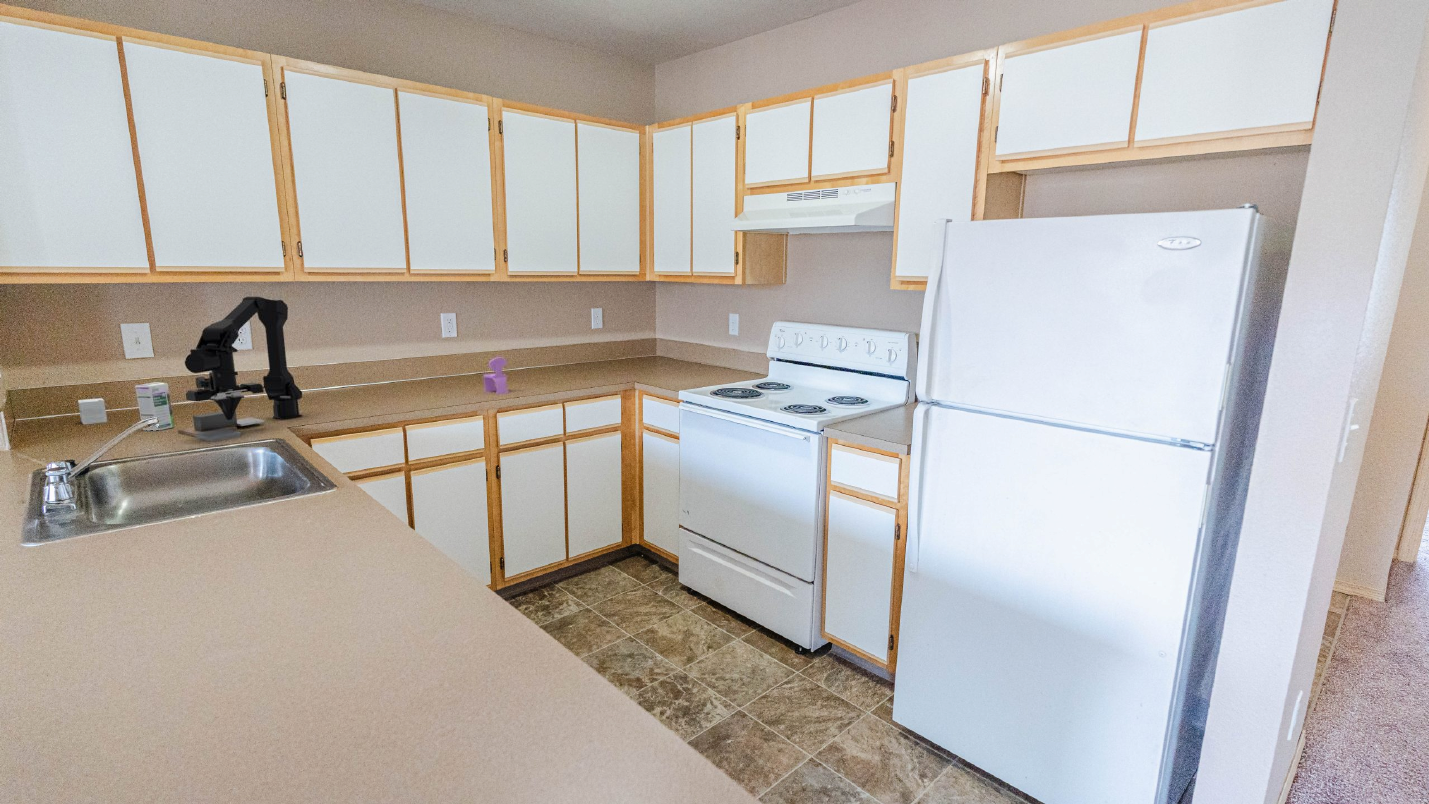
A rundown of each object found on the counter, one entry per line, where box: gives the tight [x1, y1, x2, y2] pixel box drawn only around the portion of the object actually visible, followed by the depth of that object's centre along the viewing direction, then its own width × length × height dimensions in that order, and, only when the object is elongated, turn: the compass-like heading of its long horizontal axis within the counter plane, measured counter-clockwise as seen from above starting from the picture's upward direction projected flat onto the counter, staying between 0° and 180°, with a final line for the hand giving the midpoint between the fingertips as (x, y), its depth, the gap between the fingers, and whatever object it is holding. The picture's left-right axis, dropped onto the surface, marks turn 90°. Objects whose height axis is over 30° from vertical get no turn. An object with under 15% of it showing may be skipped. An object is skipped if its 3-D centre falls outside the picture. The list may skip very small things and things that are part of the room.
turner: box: [192, 410, 265, 432], centre depth 211 cm, size 17×8×4 cm, turn 152°
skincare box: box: [77, 397, 108, 425], centre depth 220 cm, size 6×6×7 cm
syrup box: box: [134, 381, 175, 432], centre depth 210 cm, size 6×6×14 cm
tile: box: [194, 429, 242, 443], centre depth 201 cm, size 2×9×8 cm
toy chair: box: [482, 356, 510, 395], centre depth 279 cm, size 8×9×15 cm
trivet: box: [177, 426, 238, 437], centre depth 208 cm, size 11×11×1 cm
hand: (229, 419), depth 203 cm, fingers closed
